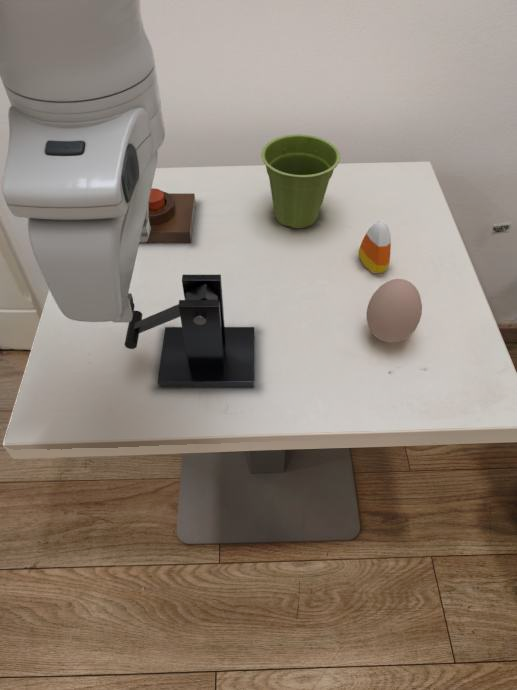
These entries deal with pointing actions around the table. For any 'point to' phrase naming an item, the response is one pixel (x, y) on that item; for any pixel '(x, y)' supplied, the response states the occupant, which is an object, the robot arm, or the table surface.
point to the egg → (394, 310)
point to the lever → (163, 315)
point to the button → (156, 200)
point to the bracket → (206, 344)
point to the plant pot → (299, 176)
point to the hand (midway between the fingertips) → (132, 273)
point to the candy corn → (376, 248)
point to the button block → (173, 219)
